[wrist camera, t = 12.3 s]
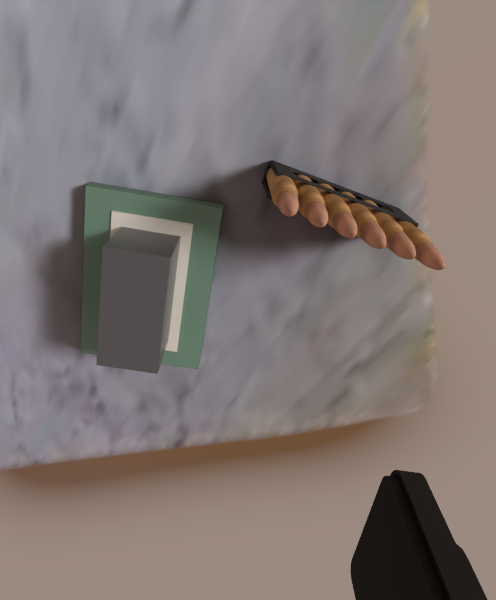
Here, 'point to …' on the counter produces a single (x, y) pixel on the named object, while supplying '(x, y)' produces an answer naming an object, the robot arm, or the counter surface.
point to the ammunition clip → (349, 213)
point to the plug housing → (136, 298)
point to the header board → (190, 268)
